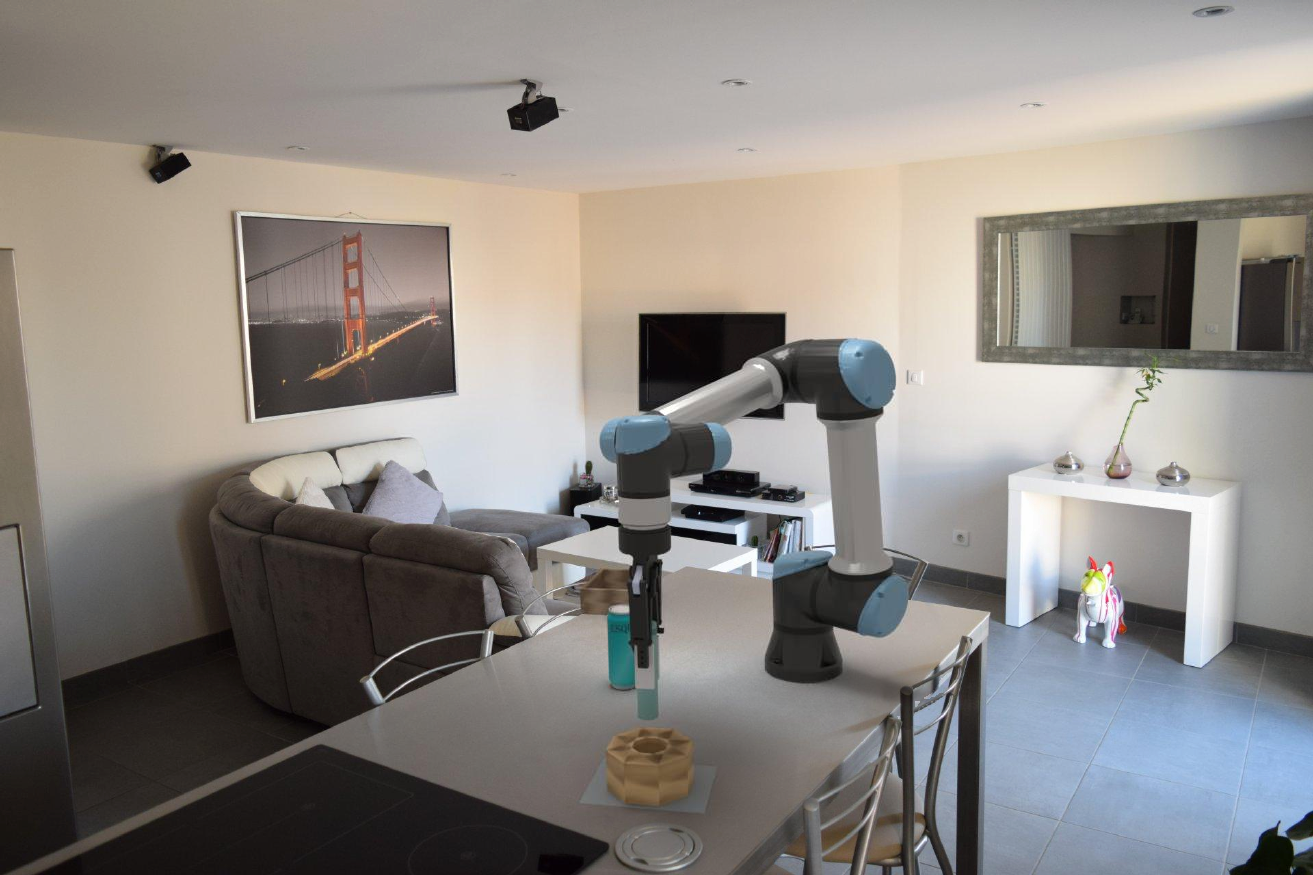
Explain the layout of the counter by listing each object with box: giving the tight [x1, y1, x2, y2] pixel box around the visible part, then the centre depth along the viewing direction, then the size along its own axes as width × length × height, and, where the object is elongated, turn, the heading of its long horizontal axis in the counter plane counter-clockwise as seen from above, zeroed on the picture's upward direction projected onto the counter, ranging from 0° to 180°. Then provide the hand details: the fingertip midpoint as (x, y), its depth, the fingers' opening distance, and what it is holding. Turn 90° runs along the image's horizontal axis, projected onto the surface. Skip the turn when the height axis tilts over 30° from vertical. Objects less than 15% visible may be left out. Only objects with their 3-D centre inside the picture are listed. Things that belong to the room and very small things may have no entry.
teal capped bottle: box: [636, 620, 659, 721], centre depth 135 cm, size 3×3×14 cm
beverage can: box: [606, 605, 635, 691], centre depth 176 cm, size 6×6×15 cm
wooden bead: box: [605, 726, 694, 806], centre depth 137 cm, size 12×12×6 cm
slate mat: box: [578, 757, 719, 815], centre depth 137 cm, size 18×14×1 cm
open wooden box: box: [579, 568, 631, 616], centre depth 229 cm, size 15×19×6 cm
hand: (647, 682), depth 135 cm, fingers closed on teal capped bottle, 3 cm apart
